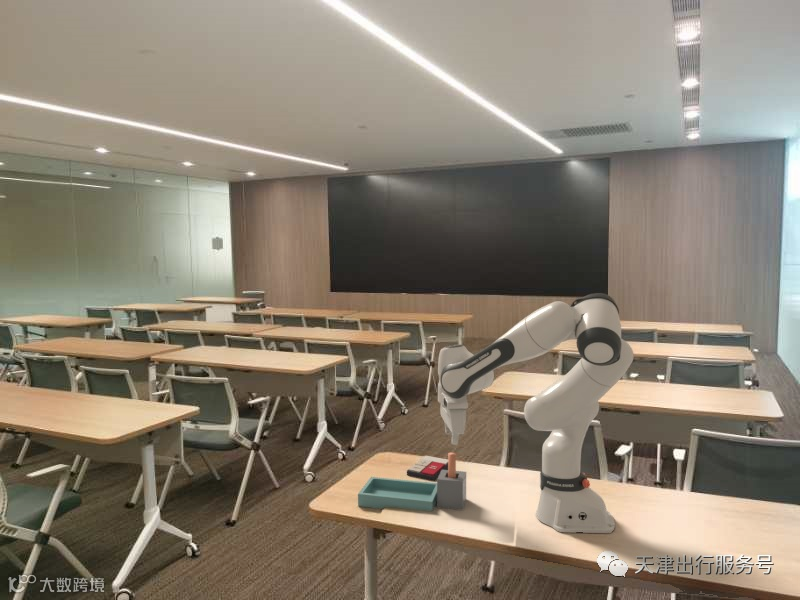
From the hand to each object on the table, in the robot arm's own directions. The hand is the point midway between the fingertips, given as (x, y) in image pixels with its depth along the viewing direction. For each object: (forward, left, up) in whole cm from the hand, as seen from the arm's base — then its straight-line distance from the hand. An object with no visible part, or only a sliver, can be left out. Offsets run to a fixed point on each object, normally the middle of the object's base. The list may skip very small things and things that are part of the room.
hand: (451, 439), depth 173 cm
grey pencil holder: (0, 0, -22) cm, 22 cm away
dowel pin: (0, 0, -21) cm, 21 cm away
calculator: (+12, -24, -22) cm, 35 cm away
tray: (+17, 0, -22) cm, 27 cm away
